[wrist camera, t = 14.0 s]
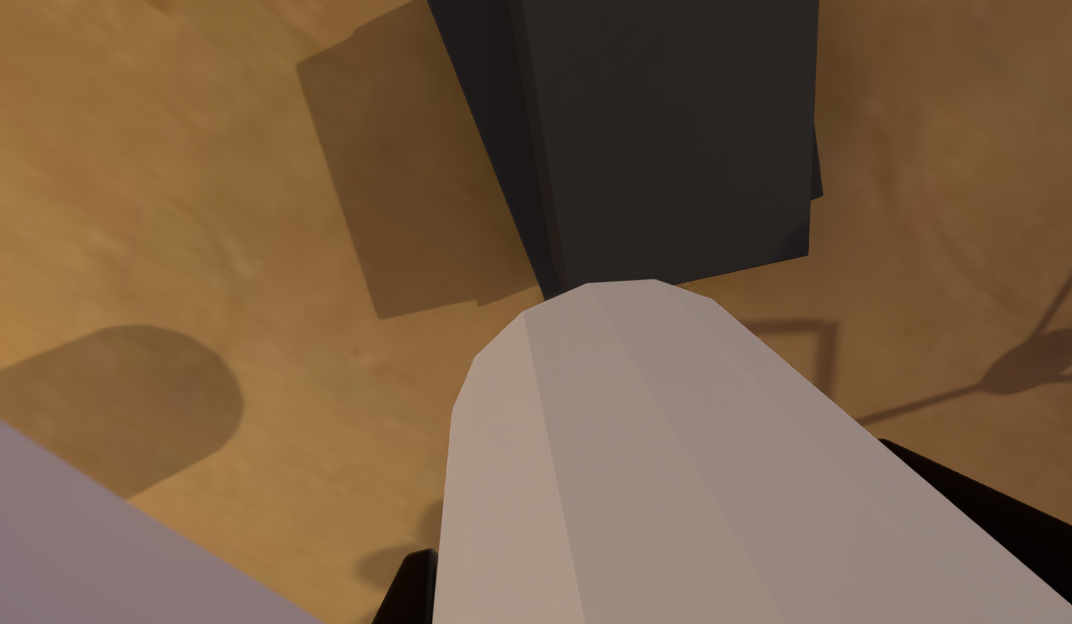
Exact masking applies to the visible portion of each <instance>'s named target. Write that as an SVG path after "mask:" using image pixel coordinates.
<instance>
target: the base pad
mask: <svg viewBox="0 0 1072 624" xmlns="http://www.w3.org/2000/svg"><path fill="white" fill-rule="evenodd" d="M427 1H428V3H429V6H430V9H431V11H432V14H433V16H434V19H435V21H436V24H437V26H438V29H439V31H440V34H441V37H442V39H443V42H444V44H445V47H446V49H447V52H448V54H449V57H450V59H451V62H452V65H453V67H454V70H455V72H456V75H457V77H458V80H459V82H460V85H461V87H462V90H463V92H464V95H465V98H466V100H467V103H468V105H469V108H470V110H471V113H472V115H473V118H474V120H475V123H476V126H477V128H478V131H479V133H480V136H481V138H482V141H483V143H484V146H485V148H486V151H487V154H488V156H489V159H490V161H491V164H492V166H493V169H494V171H495V174H496V176H497V179H498V182H499V184H500V187H501V189H502V192H503V194H504V197H505V199H506V202H507V204H508V207H509V209H510V212H511V215H512V217H513V220H514V222H515V225H516V227H517V230H518V232H519V235H520V237H521V240H522V243H523V245H524V248H525V250H526V253H527V255H528V258H529V260H530V263H531V265H532V268H533V271H534V273H535V276H536V278H537V281H538V283H539V286H540V288H541V291H542V293H543V296H544V299H545V301H547V300H550V299H552V298H554V297H556V296H559V295H561V294H563V293H565V292H564V290H563V288H562V285H561V283H560V281H559V278H558V276H557V274H556V271H555V269H554V267H553V264H552V258H551V252H550V246H549V240H548V234H547V228H546V222H545V216H544V210H543V205H542V199H541V193H540V187H539V181H538V175H537V169H536V163H535V157H534V151H533V145H532V140H531V134H530V128H529V122H528V116H527V110H526V104H525V98H524V92H523V86H522V80H521V75H520V69H519V63H518V57H517V51H516V45H515V39H514V33H513V27H512V21H511V15H510V10H509V4H508V0H427ZM821 196H823V188H822V181H821V173H820V165H819V158H818V150H817V142H816V134H815V127H814V129H813V153H812V178H811V200H813V199H816V198H818V197H821Z"/></svg>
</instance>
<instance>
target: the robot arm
mask: <svg viewBox="0 0 1072 624" xmlns="http://www.w3.org/2000/svg"><path fill="white" fill-rule="evenodd" d="M877 440H878V441H880V442H881V443H882V444H883V445H884V446H885V447H887V448H888V449H889V450H890V451H891V452H893V453H894V454H895V455H896V456H897V457H898V458H900V459H901V460H902V461H903V462H904V463H905V464H907V465H908V466H909V467H910V468H911V469H912V470H914V471H915V472H916V473H917V474H918V475H920V476H921V477H922V478H923V479H924V480H925V481H927V482H928V483H929V484H930V485H931V486H932V487H934V488H935V489H936V490H937V491H938V492H939V493H941V494H942V495H943V496H944V497H945V498H947V499H948V500H949V501H950V502H951V503H952V504H954V505H955V506H956V507H957V508H958V509H959V510H961V511H962V512H963V513H964V514H965V515H966V516H968V517H969V518H970V519H971V520H972V521H974V522H975V523H976V524H977V525H978V526H979V527H981V528H982V529H983V530H984V531H985V532H986V533H988V534H989V535H990V536H991V537H992V538H993V539H995V540H996V541H997V542H998V543H999V544H1001V545H1002V546H1003V547H1004V548H1005V549H1006V550H1008V551H1009V552H1010V553H1011V554H1012V555H1013V556H1015V557H1016V558H1017V559H1018V560H1019V561H1021V562H1022V563H1023V564H1024V565H1025V566H1026V567H1028V568H1029V569H1030V570H1031V571H1032V572H1033V573H1035V574H1036V575H1037V576H1038V577H1039V578H1040V579H1042V580H1043V581H1044V582H1045V583H1046V584H1048V585H1049V586H1050V587H1051V588H1052V589H1053V590H1055V591H1056V592H1057V593H1058V594H1059V595H1060V596H1062V597H1063V598H1064V599H1065V600H1066V601H1067V602H1069V603H1070V604H1071V605H1072V525H1070V524H1068V523H1065V522H1063V521H1061V520H1059V519H1057V518H1055V517H1052V516H1050V515H1048V514H1046V513H1044V512H1042V511H1040V510H1037V509H1035V508H1033V507H1031V506H1029V505H1027V504H1024V503H1022V502H1020V501H1018V500H1016V499H1014V498H1012V497H1009V496H1007V495H1005V494H1003V493H1001V492H999V491H996V490H994V489H992V488H990V487H988V486H986V485H984V484H981V483H979V482H977V481H975V480H973V479H971V478H968V477H966V476H964V475H962V474H960V473H958V472H956V471H953V470H951V469H949V468H947V467H945V466H943V465H940V464H938V463H936V462H934V461H932V460H930V459H928V458H925V457H923V456H921V455H919V454H917V453H915V452H912V451H910V450H908V449H906V448H904V447H902V446H900V445H897V444H895V443H893V442H891V441H889V440H886V439H877ZM437 567H438V554H437V552H436V551H435V550H434V549H430V548H429V549H425V550H421V551H417V552H413V553H410V554H408V555H407V556H406V557H405V558H404V560H403V562H402V564H401V566H400V568H399V570H398V572H397V574H396V576H395V578H394V580H393V582H392V584H391V586H390V588H389V590H388V592H387V594H386V596H385V598H384V600H383V602H382V604H381V606H380V608H379V610H378V612H377V614H376V616H375V618H374V620H373V622H372V624H432V621H433V610H434V599H435V588H436V578H437Z"/></svg>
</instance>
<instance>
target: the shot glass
mask: <svg viewBox="0 0 1072 624" xmlns="http://www.w3.org/2000/svg"><path fill="white" fill-rule="evenodd" d="M432 624H1072V605H1071V604H1070V603H1069V602H1067V601H1066V600H1065V599H1064V598H1063V597H1062V596H1060V595H1059V594H1058V593H1057V592H1056V591H1055V590H1053V589H1052V588H1051V587H1050V586H1049V585H1048V584H1046V583H1045V582H1044V581H1043V580H1042V579H1040V578H1039V577H1038V576H1037V575H1036V574H1035V573H1033V572H1032V571H1031V570H1030V569H1029V568H1028V567H1026V566H1025V565H1024V564H1023V563H1022V562H1021V561H1019V560H1018V559H1017V558H1016V557H1015V556H1013V555H1012V554H1011V553H1010V552H1009V551H1008V550H1006V549H1005V548H1004V547H1003V546H1002V545H1001V544H999V543H998V542H997V541H996V540H995V539H993V538H992V537H991V536H990V535H989V534H988V533H986V532H985V531H984V530H983V529H982V528H981V527H979V526H978V525H977V524H976V523H975V522H974V521H972V520H971V519H970V518H969V517H968V516H966V515H965V514H964V513H963V512H962V511H961V510H959V509H958V508H957V507H956V506H955V505H954V504H952V503H951V502H950V501H949V500H948V499H947V498H945V497H944V496H943V495H942V494H941V493H939V492H938V491H937V490H936V489H935V488H934V487H932V486H931V485H930V484H929V483H928V482H927V481H925V480H924V479H923V478H922V477H921V476H920V475H918V474H917V473H916V472H915V471H914V470H912V469H911V468H910V467H909V466H908V465H907V464H905V463H904V462H903V461H902V460H901V459H900V458H898V457H897V456H896V455H895V454H894V453H893V452H891V451H890V450H889V449H888V448H887V447H885V446H884V445H883V444H882V443H881V442H880V441H878V440H877V439H876V438H875V437H874V436H873V435H871V434H870V433H869V432H868V431H867V430H865V429H864V428H863V427H862V426H861V425H860V424H858V423H857V422H856V421H855V420H854V419H853V418H851V417H850V416H849V415H848V414H847V413H846V412H844V411H843V410H842V409H841V408H840V407H838V406H837V405H836V404H835V403H834V402H833V401H831V400H830V399H829V398H828V397H827V396H826V395H824V394H823V393H822V392H821V391H820V390H819V389H817V388H816V387H815V386H814V385H813V384H811V383H810V382H809V381H808V380H807V379H806V378H804V377H803V376H802V375H801V374H800V373H799V372H797V371H796V370H795V369H794V368H793V367H792V366H790V365H789V364H788V363H787V362H786V361H784V360H783V359H782V358H781V357H780V356H779V355H777V354H776V353H775V352H774V351H773V350H772V349H770V348H769V347H768V346H767V345H766V344H764V343H763V342H762V341H761V340H760V339H759V338H757V337H756V336H755V335H754V334H753V333H752V332H750V331H749V330H748V329H747V328H746V327H745V326H743V325H742V324H741V323H740V322H739V321H737V320H736V319H735V318H734V317H733V316H732V315H730V314H729V313H728V312H727V311H726V310H725V309H723V308H722V307H721V306H720V305H719V304H718V303H716V302H715V301H714V300H713V299H711V298H708V297H705V296H702V295H699V294H696V293H693V292H690V291H687V290H685V289H682V288H679V287H676V286H673V285H670V284H667V283H664V282H661V281H658V280H656V279H651V280H634V281H617V282H600V283H586V284H584V285H582V286H580V287H577V288H575V289H573V290H570V291H568V292H566V293H563V294H561V295H559V296H556V297H554V298H552V299H550V300H547V301H545V302H543V303H540V304H538V305H536V306H533V307H531V308H529V309H526V310H524V311H522V312H521V313H520V314H519V315H518V316H517V317H516V318H515V319H514V320H513V321H512V322H511V323H510V324H509V325H508V326H507V327H506V328H505V329H503V330H502V331H501V332H500V333H499V334H498V335H497V336H496V337H495V338H494V339H493V340H492V341H491V342H490V343H489V344H488V345H487V346H486V347H485V348H484V349H483V350H482V351H481V352H479V353H478V354H477V355H476V356H475V358H474V360H473V363H472V365H471V367H470V370H469V372H468V374H467V377H466V379H465V381H464V384H463V386H462V388H461V391H460V393H459V395H458V398H457V400H456V402H455V405H454V407H453V409H452V417H451V428H450V439H449V449H448V460H447V471H446V481H445V492H444V503H443V513H442V524H441V535H440V546H439V556H438V567H437V578H436V588H435V599H434V610H433V621H432Z"/></svg>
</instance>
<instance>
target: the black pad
mask: <svg viewBox="0 0 1072 624" xmlns="http://www.w3.org/2000/svg"><path fill="white" fill-rule="evenodd" d="M508 4H509V10H510V15H511V21H512V27H513V33H514V39H515V45H516V51H517V57H518V63H519V69H520V75H521V80H522V86H523V92H524V98H525V104H526V110H527V116H528V122H529V128H530V134H531V140H532V145H533V151H534V157H535V163H536V169H537V175H538V181H539V187H540V193H541V199H542V205H543V210H544V216H545V222H546V228H547V234H548V240H549V246H550V252H551V258H552V264H553V267H554V269H555V271H556V274H557V276H558V278H559V281H560V283H561V285H562V288H563V290H564V292H565V293H566V292H568V291H570V290H573V289H575V288H577V287H580V286H582V285H584V284H586V283H600V282H617V281H634V280H651V279H656V280H658V281H661V282H664V283H667V284H670V285H676V284H680V283H685V282H689V281H694V280H698V279H703V278H707V277H712V276H717V275H721V274H726V273H730V272H735V271H739V270H744V269H749V268H753V267H758V266H762V265H767V264H771V263H776V262H780V261H785V260H790V259H794V258H799V257H803V256H807V255H808V251H809V227H810V202H811V178H812V153H813V129H814V104H815V80H816V56H817V31H818V7H819V0H508Z"/></svg>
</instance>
